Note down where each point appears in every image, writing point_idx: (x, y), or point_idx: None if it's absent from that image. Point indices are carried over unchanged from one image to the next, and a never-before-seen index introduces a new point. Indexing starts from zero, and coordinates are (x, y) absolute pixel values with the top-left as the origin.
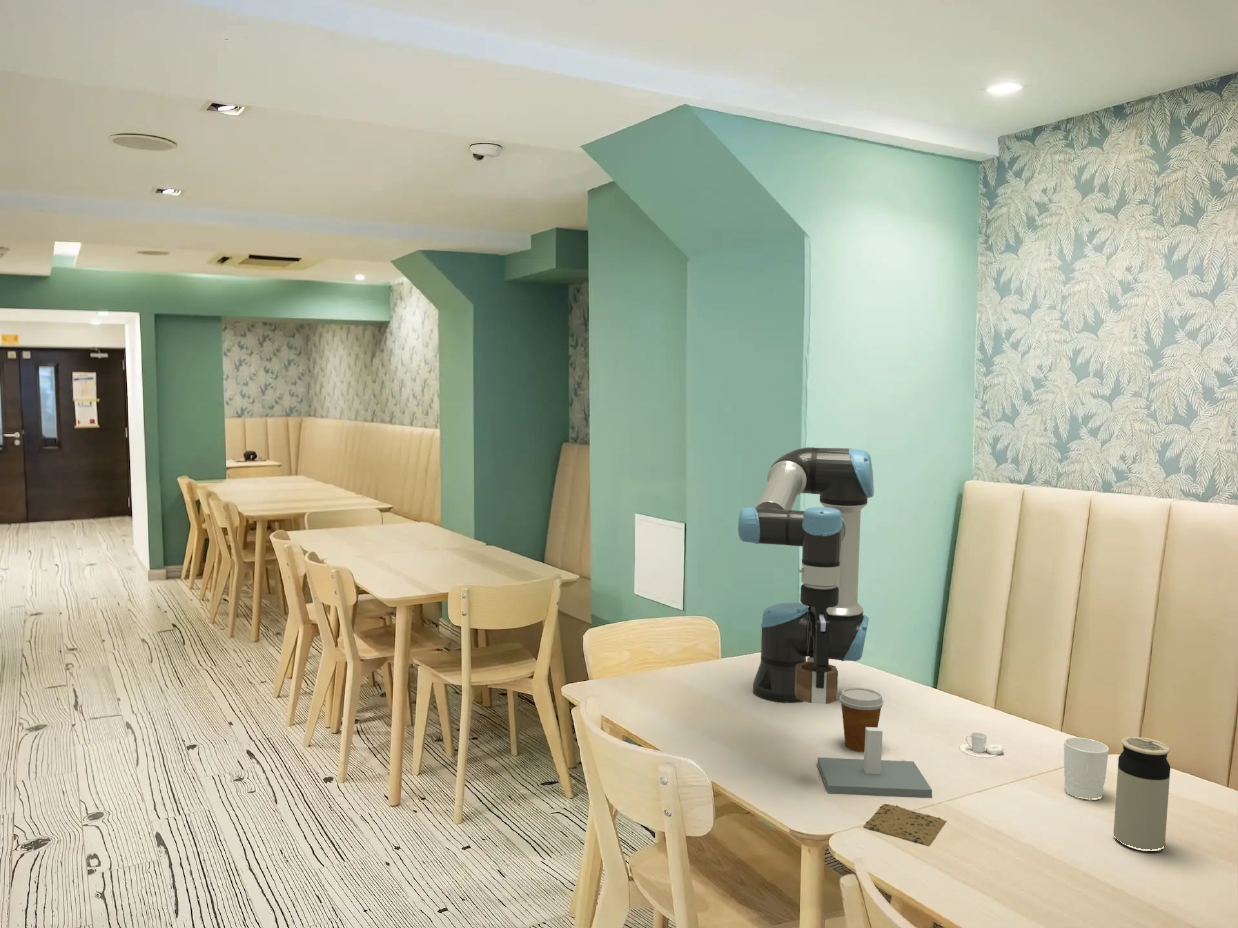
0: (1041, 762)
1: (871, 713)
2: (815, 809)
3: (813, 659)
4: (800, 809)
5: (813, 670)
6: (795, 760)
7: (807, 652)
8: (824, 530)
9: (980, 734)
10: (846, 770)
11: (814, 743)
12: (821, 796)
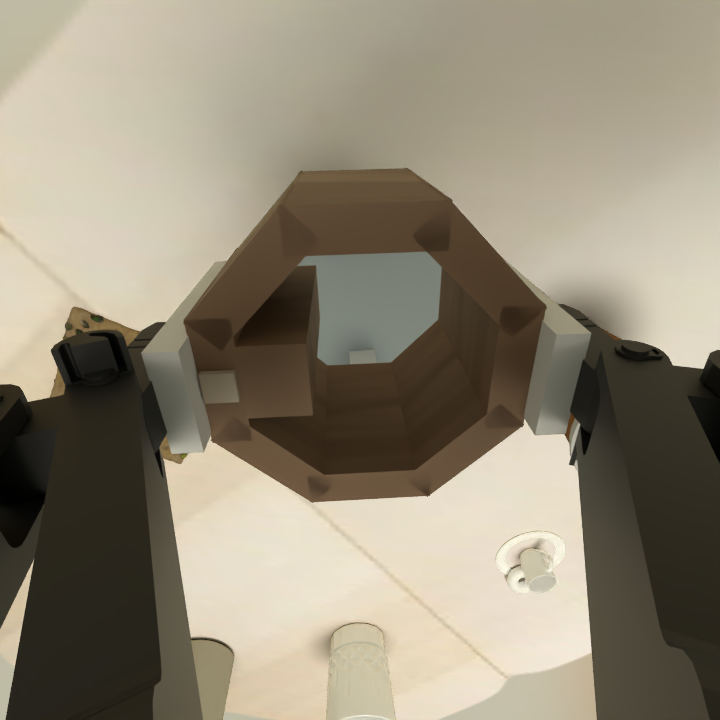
0: (475, 617)
1: (568, 438)
2: (128, 195)
3: (543, 376)
4: (110, 148)
5: (75, 363)
6: (470, 163)
7: (632, 354)
8: None
9: (551, 583)
10: (362, 307)
11: (600, 237)
12: (221, 221)
